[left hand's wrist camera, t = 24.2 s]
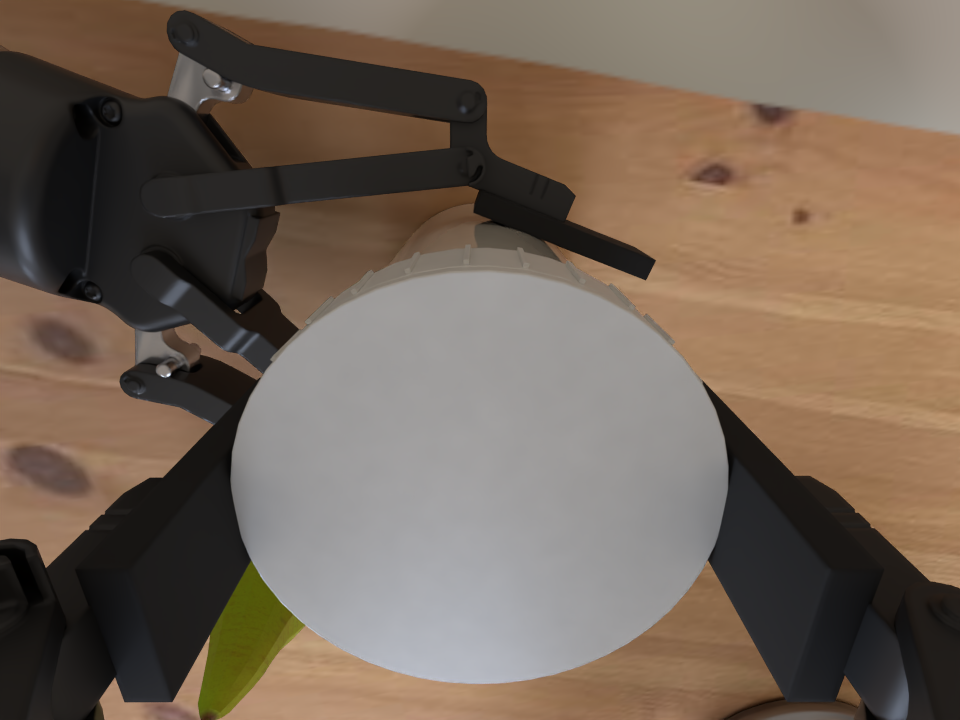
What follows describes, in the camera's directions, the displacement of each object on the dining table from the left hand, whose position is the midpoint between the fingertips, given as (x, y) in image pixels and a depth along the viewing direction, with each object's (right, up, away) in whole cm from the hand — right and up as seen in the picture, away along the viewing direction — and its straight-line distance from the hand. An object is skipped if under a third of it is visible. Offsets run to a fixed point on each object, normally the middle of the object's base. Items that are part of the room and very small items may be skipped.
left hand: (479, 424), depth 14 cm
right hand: (+4, +1, +7) cm, 9 cm away
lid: (0, -1, -3) cm, 3 cm away
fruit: (-12, -10, +19) cm, 25 cm away
